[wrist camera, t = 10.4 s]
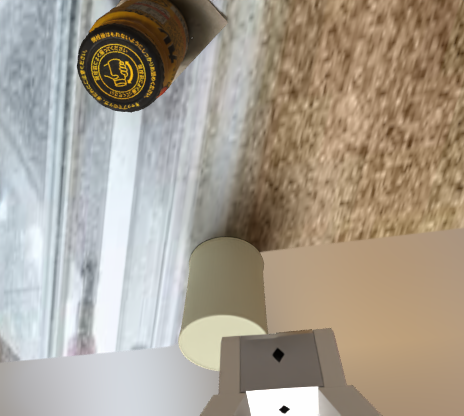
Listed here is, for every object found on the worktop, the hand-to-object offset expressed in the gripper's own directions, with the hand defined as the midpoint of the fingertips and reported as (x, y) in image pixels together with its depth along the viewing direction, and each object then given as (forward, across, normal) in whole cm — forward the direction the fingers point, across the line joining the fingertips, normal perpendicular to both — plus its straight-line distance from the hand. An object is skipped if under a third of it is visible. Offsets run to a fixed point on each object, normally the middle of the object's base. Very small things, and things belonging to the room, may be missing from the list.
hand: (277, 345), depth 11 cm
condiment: (+29, +7, -4) cm, 30 cm away
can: (+29, +6, +24) cm, 38 cm away
